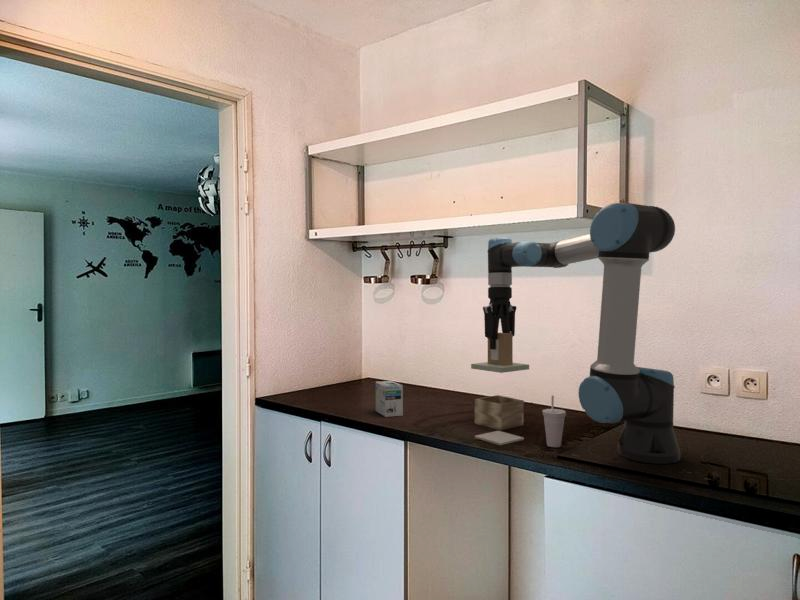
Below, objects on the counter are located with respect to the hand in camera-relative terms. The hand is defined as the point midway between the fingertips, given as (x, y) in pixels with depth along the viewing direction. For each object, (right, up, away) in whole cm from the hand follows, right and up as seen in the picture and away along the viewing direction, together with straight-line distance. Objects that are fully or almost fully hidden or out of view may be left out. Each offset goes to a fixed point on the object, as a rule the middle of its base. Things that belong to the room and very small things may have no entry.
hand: (500, 359), depth 181 cm
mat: (-3, -22, -17) cm, 27 cm away
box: (0, -21, +1) cm, 21 cm away
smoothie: (+11, -22, -23) cm, 34 cm away
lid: (0, -3, 0) cm, 3 cm away
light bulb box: (-36, -21, +16) cm, 45 cm away
